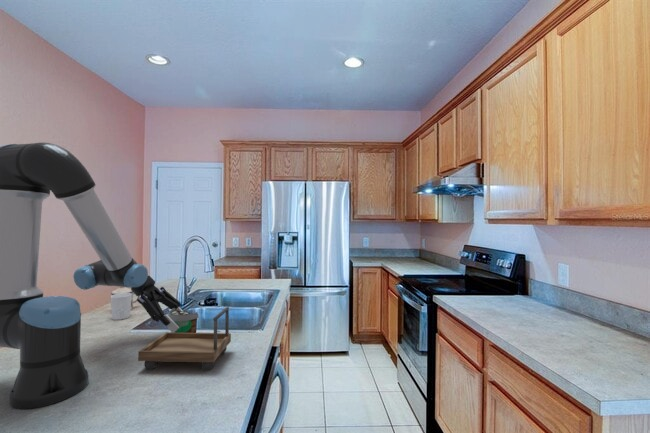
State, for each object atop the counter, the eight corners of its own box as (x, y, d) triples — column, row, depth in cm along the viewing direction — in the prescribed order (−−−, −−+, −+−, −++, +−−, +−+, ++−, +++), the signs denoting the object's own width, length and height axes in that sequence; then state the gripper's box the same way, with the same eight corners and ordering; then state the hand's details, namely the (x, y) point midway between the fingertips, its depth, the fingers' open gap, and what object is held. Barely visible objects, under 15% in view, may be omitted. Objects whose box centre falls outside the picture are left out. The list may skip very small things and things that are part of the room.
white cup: (124, 320, 135) (124, 297, 135) (106, 320, 135) (106, 297, 135) (135, 314, 143) (135, 292, 143) (118, 314, 143) (118, 292, 143)
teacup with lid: (114, 314, 144) (114, 288, 144) (108, 310, 150) (108, 285, 150) (142, 308, 152) (142, 284, 152) (136, 304, 159) (136, 282, 159)
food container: (160, 339, 114) (159, 312, 113) (174, 333, 119) (174, 307, 119) (185, 345, 109) (185, 317, 109) (198, 339, 115) (198, 312, 114)
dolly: (213, 373, 90) (213, 319, 90) (138, 372, 90) (138, 318, 90) (231, 350, 105) (231, 305, 105) (166, 349, 105) (166, 304, 105)
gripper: (149, 282, 126) (188, 323, 125) (112, 296, 105) (159, 344, 104) (162, 269, 126) (201, 310, 125) (127, 280, 105) (175, 329, 104)
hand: (182, 325), depth 115 cm, fingers closed on food container, 8 cm apart
